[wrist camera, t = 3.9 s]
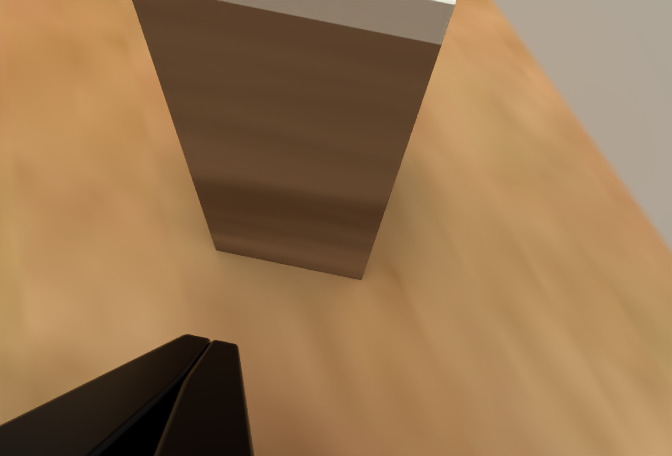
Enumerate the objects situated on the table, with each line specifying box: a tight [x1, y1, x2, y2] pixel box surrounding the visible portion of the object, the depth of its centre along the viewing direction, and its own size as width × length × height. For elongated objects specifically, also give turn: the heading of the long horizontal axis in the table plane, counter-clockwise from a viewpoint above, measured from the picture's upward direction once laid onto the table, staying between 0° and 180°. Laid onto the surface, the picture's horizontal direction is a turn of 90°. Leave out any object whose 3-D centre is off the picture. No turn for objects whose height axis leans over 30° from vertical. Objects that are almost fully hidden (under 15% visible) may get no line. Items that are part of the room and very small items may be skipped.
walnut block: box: [132, 0, 456, 280], centre depth 14 cm, size 5×5×12 cm
